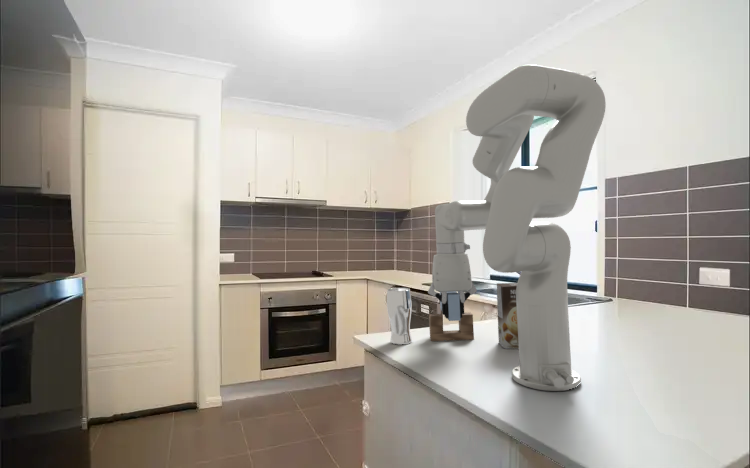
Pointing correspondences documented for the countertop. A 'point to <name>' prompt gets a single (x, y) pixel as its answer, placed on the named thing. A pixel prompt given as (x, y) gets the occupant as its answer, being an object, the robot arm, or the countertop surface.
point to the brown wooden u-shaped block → (461, 334)
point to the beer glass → (399, 314)
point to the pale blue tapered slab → (452, 306)
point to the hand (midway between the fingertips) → (453, 316)
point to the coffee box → (507, 315)
